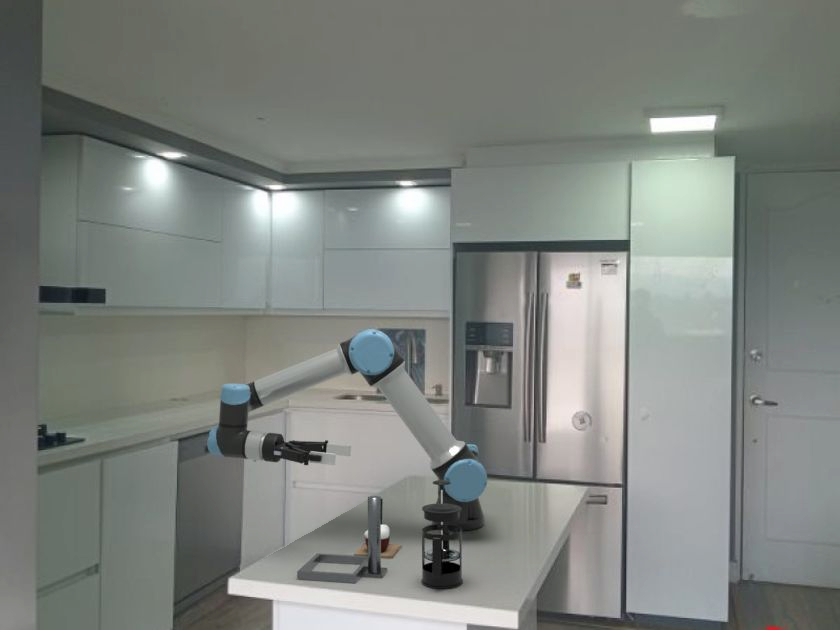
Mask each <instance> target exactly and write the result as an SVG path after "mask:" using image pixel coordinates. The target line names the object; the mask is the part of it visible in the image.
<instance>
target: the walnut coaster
mask: <svg viewBox="0 0 840 630" xmlns="http://www.w3.org/2000/svg"><path fill="white" fill-rule="evenodd" d="M402 547H403V544H395V543H389V545H388V547H387V549H386V550H385V551H383V552H381V559H390V558H393V557H395V556H396V555H397V554H398V552H399V551H400V550H401V549H400V548H402ZM399 549H400V550H399ZM353 555H354V556H368V548H367V546H366V542H364V543H363V544H362V545H360V547H359V548H358V549H357V550H356V551H355V552H354V554H353ZM393 559H394V558H393Z"/></svg>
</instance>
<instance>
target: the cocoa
mask: <svg viewBox="0 0 840 630" xmlns="http://www.w3.org/2000/svg"><path fill="white" fill-rule="evenodd" d="M383 500H384V499H383V498H382V497H381V552H383V551H385V550H386V549H387V547H388V545H389V544H390V533H391V531H390V526H388V524H383V504H384V503H383ZM364 541H365V542H364V543H366V546H367V548H368V529H367V530H366V531H365V532H364Z"/></svg>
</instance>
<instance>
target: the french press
mask: <svg viewBox="0 0 840 630" xmlns="http://www.w3.org/2000/svg"><path fill="white" fill-rule="evenodd" d="M432 484H433V485H436V486H438V485H440V490H441V503H437V504H436V503H430V504H425V505H424V506H422V507H421V510H422V512H423V518H424V519H425V520H426V521H430V522H432V521H434V522H441V524H435V525H432V524H431V525H429V524H428V525H426V526H424V527H423V528H421V536H422V537H421V541H422V542H421V552H422V553H421V557H422V558H421V561H422V562H421V570H422V571H421V572H422V577H421V582H420V583H421V584H422V586H424V587H426V588H430V589H435V590H449V589H455V588H458V587H460V586H462V584H463V582H464V580H463V578H462V576H463V573H462V572H463V569H462V565H463V564H462V563H463V562H462V559H463V557H462V555H463V552H462V551H463V549H462V548H463V545H462V543H463V542H462V538H463V536H462V535H463V534H462V531H463V530H462V529H461V528H460V527H458V526H454V525H448V524H443V522H450V521H455V520H458V519H459V518H460V511H461V510H462V508H461V507H460V506H458V505H454V504H446V503H443V490H444V485H448V484H451V482H450V481H447V480H438V479H436V480H434V481H432ZM431 531H432V532H433V531H440V534H436V533H435V534H434V533H429V532H431ZM450 532H455V533H451V534H450ZM425 539H427V540H430V541H432V547H431V548H432V549H429V550H426V551H425V549H426V548H425V541H426V540H425ZM458 539H459V551H457V550H455V549H452V548H450V541H454V540H455V541H456V540H458ZM425 559H426V560H427V561H431V562H428V563H426V562H425V561H426V560H425ZM457 560H459V563H456V562H454V561H457Z"/></svg>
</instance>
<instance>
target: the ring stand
mask: <svg viewBox="0 0 840 630" xmlns="http://www.w3.org/2000/svg"><path fill="white" fill-rule="evenodd" d="M381 498H382V497H381V496H380V495H368V496H367V530H368V556H354V554H353V555H350V554H336V553H320V552H319V553H317V552H316V554H315V555H313V556H312V557H311V558H310V559H309V560H308V561H307V562H306V563H305V564H304V565H302V566H301V567H300V568H299V569H298V570H297V571H296V579H297V580H299V581H300V580H302V581H316V582H318V581H320V582H331V583H333V582H335V583H346V584H348V583H349V584H357V583H358V581H359V580H360V579H361V578H374V579H375V578H378V579H383V578H384V576H386V574H387V573H388V567H382V562H381V561H382V558H381ZM319 563H329V564H330V563H331V564H342V565H343V564H345V565H346V564H347V565H359V566H358V567H357V568H356V569H355V570H354V571H353V572H352V573H348V572H332V571H318V570H317V571H315V570H313V569H314V568H315V567H316V566H318V564H319Z"/></svg>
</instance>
